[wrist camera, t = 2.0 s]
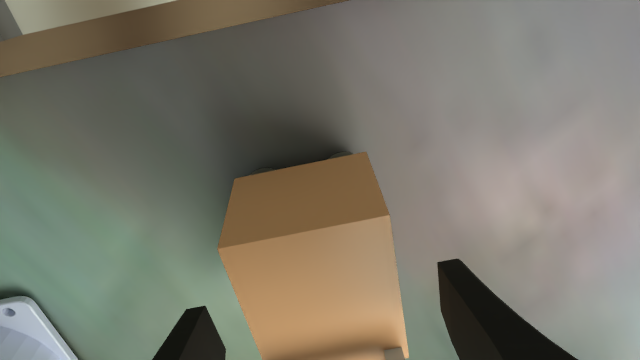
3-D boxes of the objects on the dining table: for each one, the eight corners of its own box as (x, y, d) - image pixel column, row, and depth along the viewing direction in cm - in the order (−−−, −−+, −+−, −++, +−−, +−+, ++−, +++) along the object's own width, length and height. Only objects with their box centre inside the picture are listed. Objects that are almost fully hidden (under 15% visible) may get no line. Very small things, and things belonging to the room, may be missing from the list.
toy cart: (380, 258, 19) (419, 393, 13) (276, 277, 19) (270, 419, 13) (361, 138, 16) (400, 244, 10) (238, 163, 16) (209, 282, 10)
